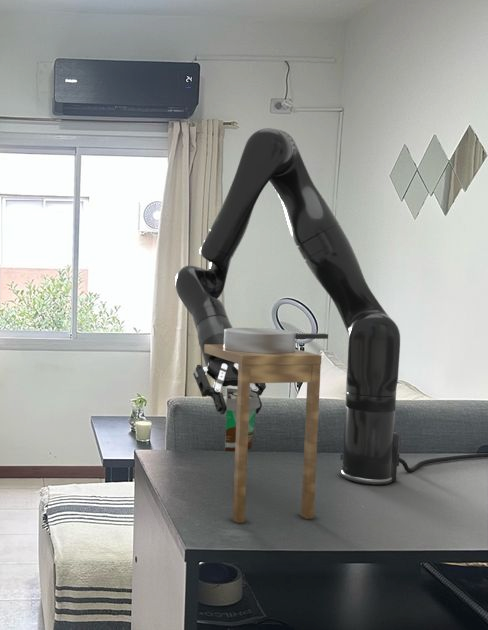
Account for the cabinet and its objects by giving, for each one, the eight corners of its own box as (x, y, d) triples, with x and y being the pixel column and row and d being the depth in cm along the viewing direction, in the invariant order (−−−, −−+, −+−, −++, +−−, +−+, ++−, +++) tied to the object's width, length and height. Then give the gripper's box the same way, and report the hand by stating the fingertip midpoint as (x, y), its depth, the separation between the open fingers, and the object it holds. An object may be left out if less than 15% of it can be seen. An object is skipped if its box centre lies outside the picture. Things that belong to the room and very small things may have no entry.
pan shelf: (297, 488, 141) (304, 327, 139) (345, 517, 126) (353, 335, 123) (199, 492, 137) (204, 326, 135) (236, 523, 122) (243, 335, 119)
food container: (259, 455, 135) (261, 401, 134) (224, 453, 136) (226, 399, 135) (257, 439, 147) (259, 389, 146) (225, 437, 148) (226, 387, 147)
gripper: (190, 331, 149) (211, 401, 138) (257, 331, 151) (282, 400, 141) (180, 354, 154) (199, 423, 144) (245, 353, 157) (268, 421, 146)
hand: (240, 411), depth 142 cm, fingers closed on food container, 6 cm apart
